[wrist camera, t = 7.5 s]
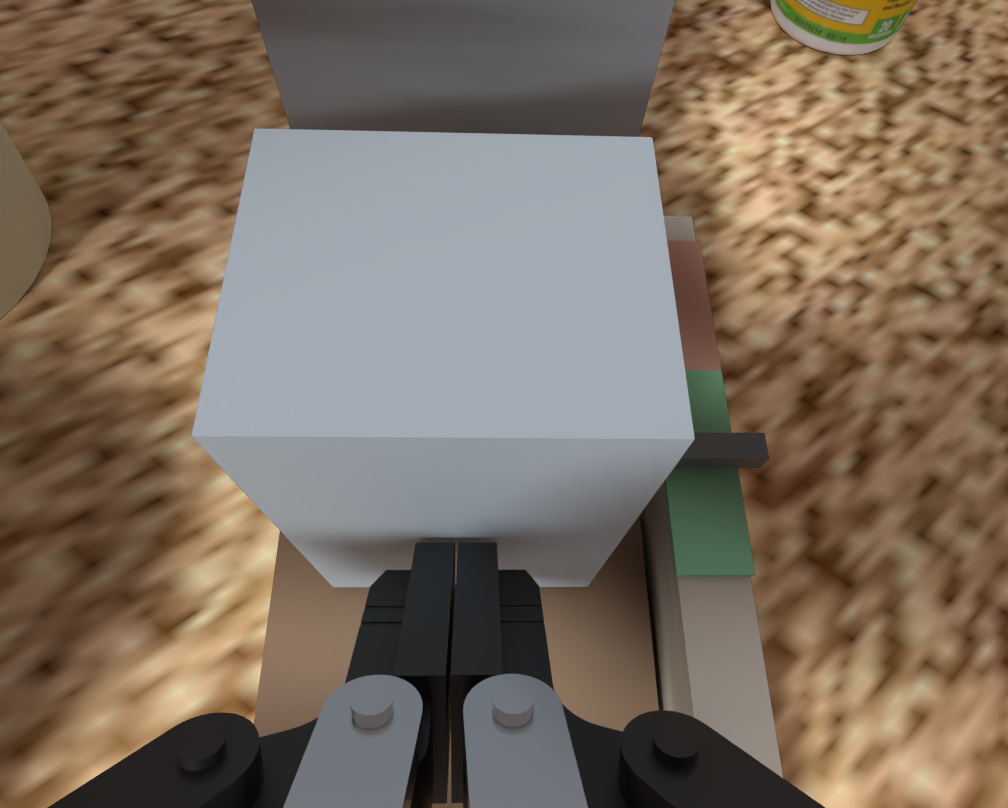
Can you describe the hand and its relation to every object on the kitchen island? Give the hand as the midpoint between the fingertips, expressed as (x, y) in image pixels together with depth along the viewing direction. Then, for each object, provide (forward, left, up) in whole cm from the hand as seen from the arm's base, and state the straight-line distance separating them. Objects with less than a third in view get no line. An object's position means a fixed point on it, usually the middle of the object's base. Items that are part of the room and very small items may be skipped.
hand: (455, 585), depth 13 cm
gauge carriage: (+2, +5, -4) cm, 6 cm away
